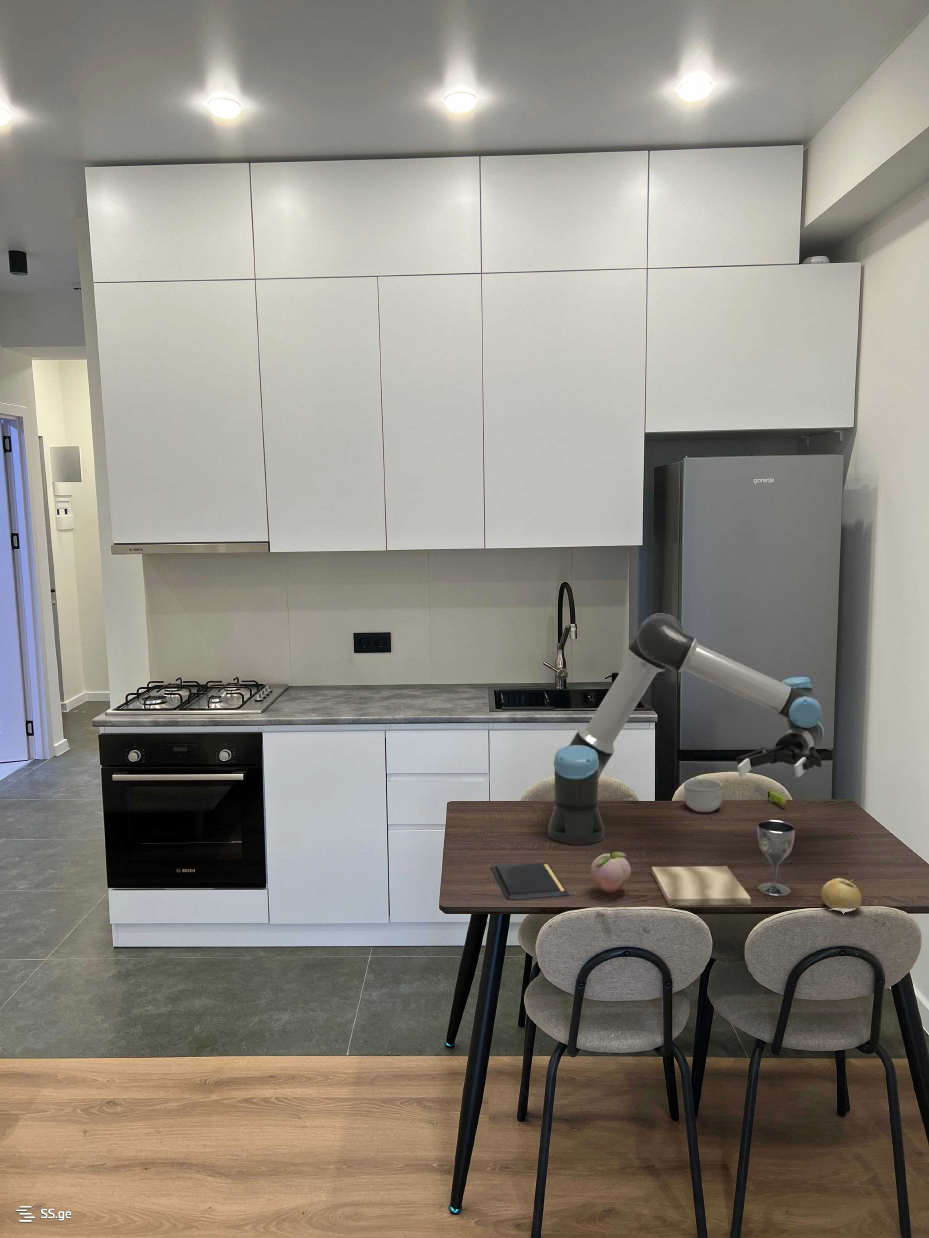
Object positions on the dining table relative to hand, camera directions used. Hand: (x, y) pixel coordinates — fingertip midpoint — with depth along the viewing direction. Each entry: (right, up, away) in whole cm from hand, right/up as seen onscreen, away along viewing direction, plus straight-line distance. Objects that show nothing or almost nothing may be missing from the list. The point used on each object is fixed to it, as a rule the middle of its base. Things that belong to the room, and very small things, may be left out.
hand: (767, 771), depth 205 cm
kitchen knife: (+21, -19, +59) cm, 66 cm away
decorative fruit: (-39, -27, -7) cm, 47 cm away
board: (-18, -26, -5) cm, 32 cm away
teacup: (-1, -20, +52) cm, 55 cm away
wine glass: (-1, -26, -6) cm, 27 cm away
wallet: (-57, -27, 0) cm, 63 cm away
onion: (+10, -27, -16) cm, 33 cm away
